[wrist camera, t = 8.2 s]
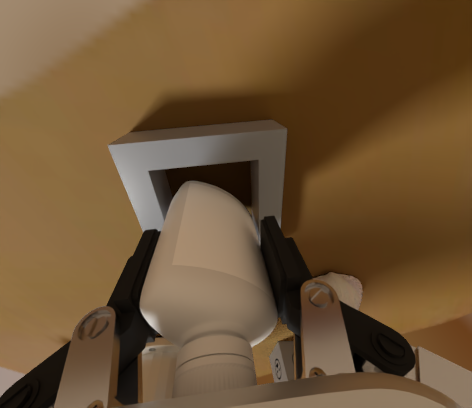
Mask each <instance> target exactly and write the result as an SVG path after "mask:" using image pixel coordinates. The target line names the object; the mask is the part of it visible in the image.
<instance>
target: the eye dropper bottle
mask: <svg viewBox="0 0 472 408" xmlns="http://www.w3.org/2000/svg"><path fill="white" fill-rule="evenodd" d="M140 310H141V313H142V315H143V316H144V318H145V319H146V321H147V322H148V323H149V325H150V326H151V327H153V328H154V329H155V330H156V331H157V332H158V333H159V334H160V335H162V336H163V337H164V338H165V339H167V340H168V341H170V342H171V343H172V344H174V345H175V346H177V347H178V348H180V350H179V352H178V355H177V363H176V371H175V379H174V387H173V394H172V398H177V397H183V396H190V395H196V394H203V393H210V392H216V391H223V390H229V389H236V388H242V387H249V386H256V385H257V382H256V374H255V368H254V361H253V354H252V347H253V346H255V345H257V344H258V343H260V342H261V341H262V340H264V339H265V338H266V337H267V336H268V335H270V334H271V332H272V331H273V330H274V328H275V326H276V324H277V320H278V312H277V306H276V302H275V298H274V294H273V290H272V287H271V283H270V279H269V276H268V272H267V269H266V265H265V262H264V258H263V254H262V251H261V247H260V243H259V240H258V236H257V233H256V229H255V226H254V222H253V219H252V217H251V215H250V213H249V211H248V210H247V209H246V207H245V206H244V205H243V204H242V203H241V202H240V201H239V200H238V199H237V198H236V197H234V196H233V195H232V194H230V193H228V192H227V191H225V190H223V189H221V188H219V187H217V186H214V185H211V184H208V183H204V182H199V181H187V182H185V183H184V184H183V185H182V186H181V187H180V188H179V190H178V191H177V193H176V194H175V196H174V197H173V199H172V201H171V204H170V207H169V210H168V212H167V215H166V218H165V221H164V224H163V227H162V230H161V233H160V236H159V239H158V242H157V245H156V248H155V251H154V254H153V257H152V260H151V263H150V266H149V269H148V272H147V276H146V279H145V282H144V285H143V288H142V292H141V297H140Z"/></svg>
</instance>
